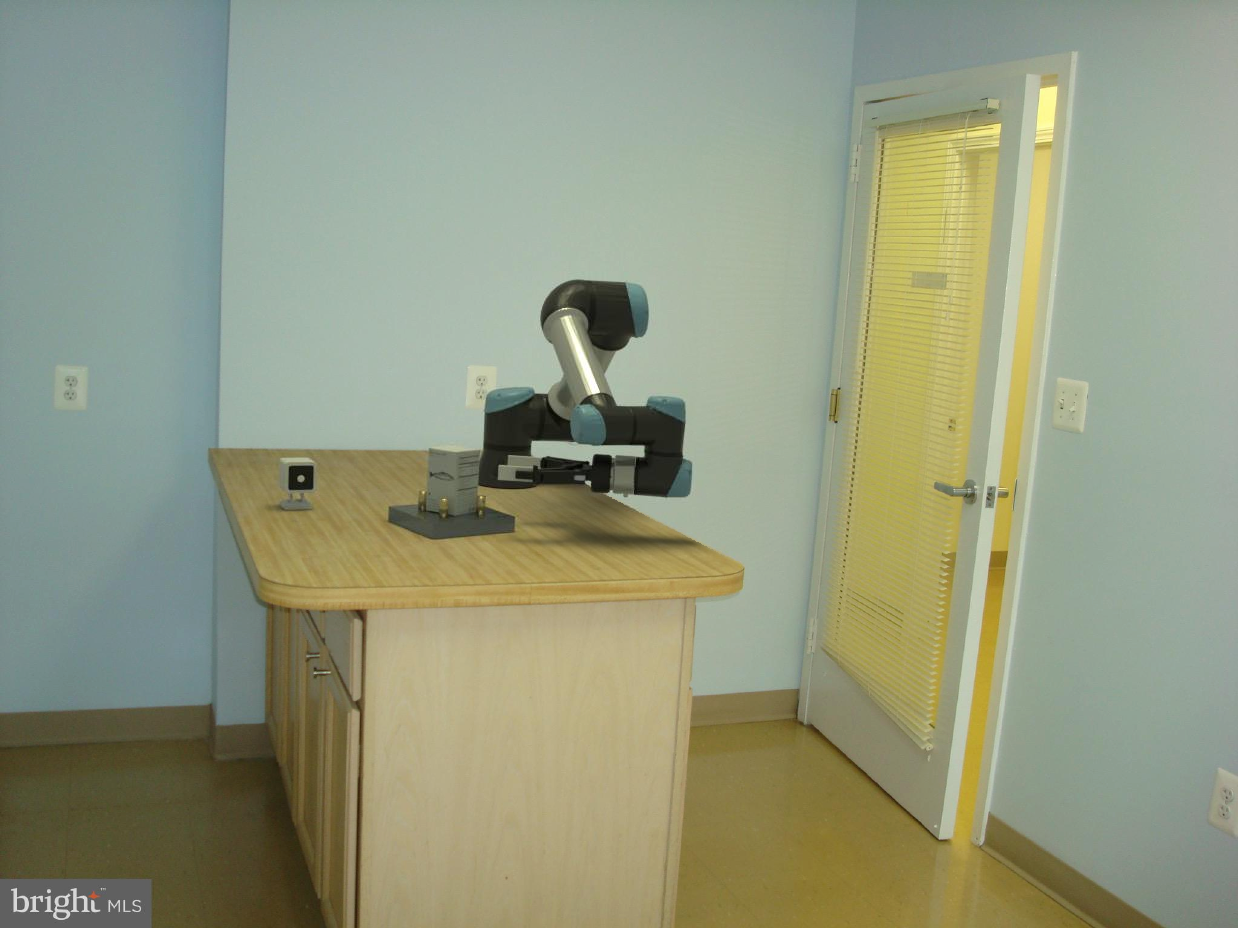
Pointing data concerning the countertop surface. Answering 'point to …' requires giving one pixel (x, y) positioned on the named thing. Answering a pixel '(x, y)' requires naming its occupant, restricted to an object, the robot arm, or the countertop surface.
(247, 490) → the countertop surface
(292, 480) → the security camera
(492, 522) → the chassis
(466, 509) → the supplement box
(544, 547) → the countertop surface
